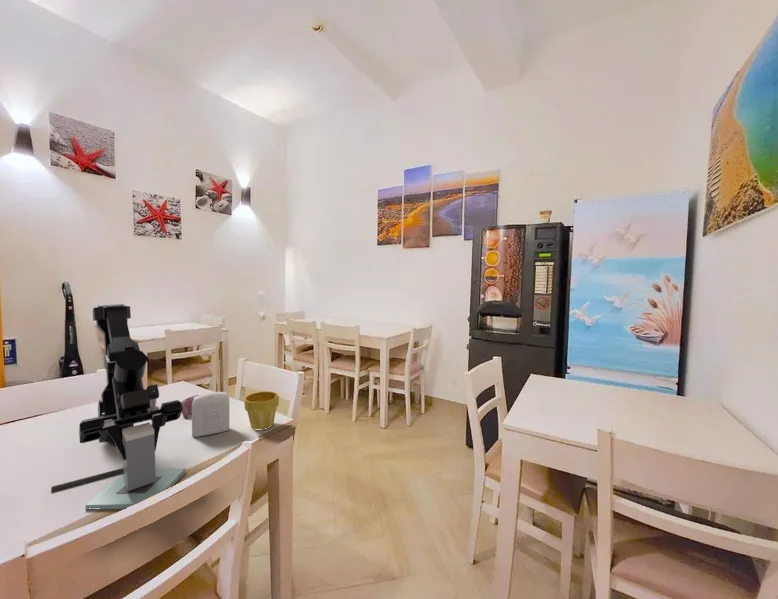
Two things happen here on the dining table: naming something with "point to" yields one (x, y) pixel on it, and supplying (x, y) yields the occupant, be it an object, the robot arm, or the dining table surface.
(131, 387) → the robot arm
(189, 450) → the dining table surface
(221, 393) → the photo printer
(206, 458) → the dining table surface
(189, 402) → the video game controller
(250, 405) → the plant pot
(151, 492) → the teal flat square slab
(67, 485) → the dark grey bar
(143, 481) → the light grey rectangular block
